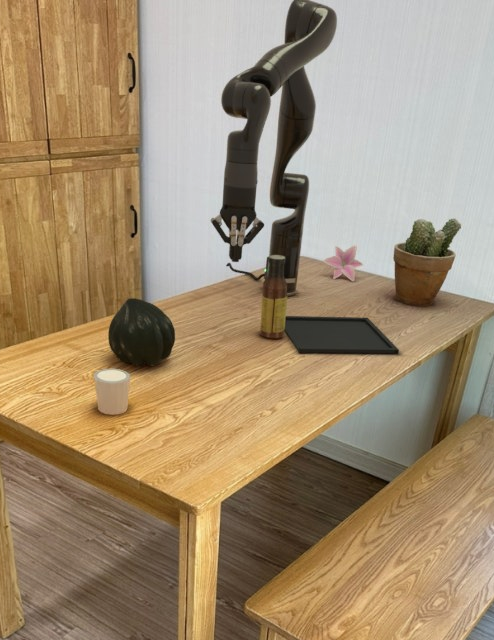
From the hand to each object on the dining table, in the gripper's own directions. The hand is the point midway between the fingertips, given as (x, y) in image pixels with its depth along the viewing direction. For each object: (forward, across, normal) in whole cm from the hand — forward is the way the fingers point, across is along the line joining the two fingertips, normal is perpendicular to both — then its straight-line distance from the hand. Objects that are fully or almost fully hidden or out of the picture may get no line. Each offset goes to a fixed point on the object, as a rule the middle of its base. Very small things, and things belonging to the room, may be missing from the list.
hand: (234, 261), depth 167 cm
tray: (+18, -28, 0) cm, 34 cm away
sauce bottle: (+19, -11, 0) cm, 22 cm away
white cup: (+19, +30, +41) cm, 55 cm away
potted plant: (+18, -64, -33) cm, 74 cm away
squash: (+19, +23, +17) cm, 34 cm away
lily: (+18, -48, -56) cm, 76 cm away
